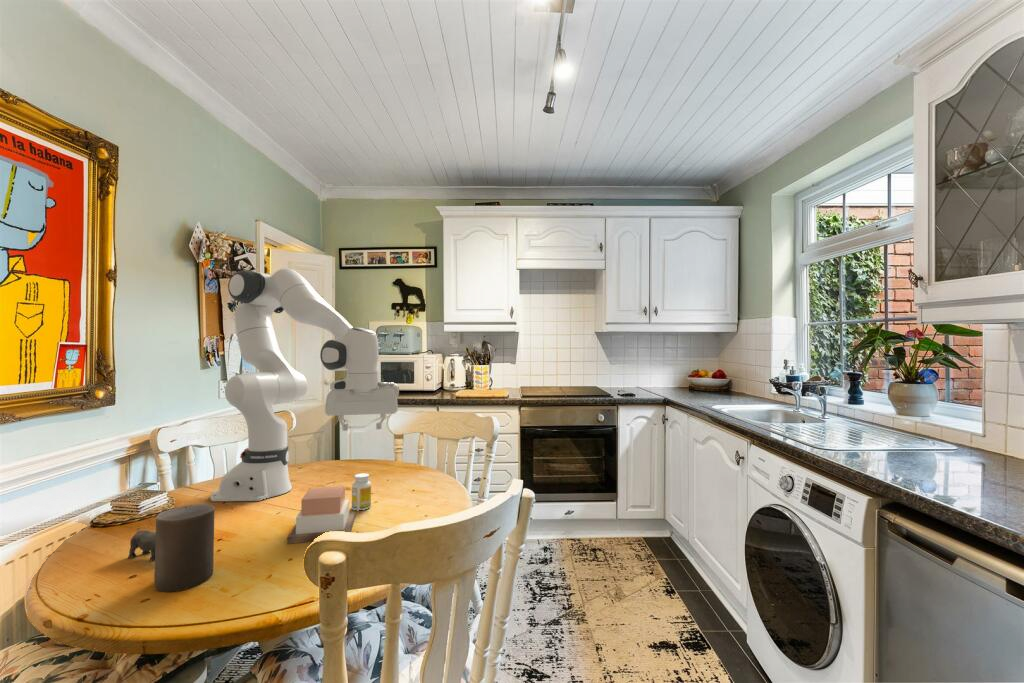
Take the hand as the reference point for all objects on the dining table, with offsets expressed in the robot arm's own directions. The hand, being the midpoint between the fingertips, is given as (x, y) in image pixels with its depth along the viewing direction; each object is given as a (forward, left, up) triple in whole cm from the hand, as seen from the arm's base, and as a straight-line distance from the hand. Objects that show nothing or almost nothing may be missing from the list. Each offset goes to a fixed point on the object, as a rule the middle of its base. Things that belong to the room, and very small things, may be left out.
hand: (362, 429), depth 131 cm
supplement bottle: (0, 0, -23) cm, 23 cm away
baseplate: (-8, -14, -23) cm, 28 cm away
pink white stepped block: (-8, -14, -21) cm, 27 cm away
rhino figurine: (-41, -22, -23) cm, 52 cm away
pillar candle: (-31, -34, -23) cm, 51 cm away
